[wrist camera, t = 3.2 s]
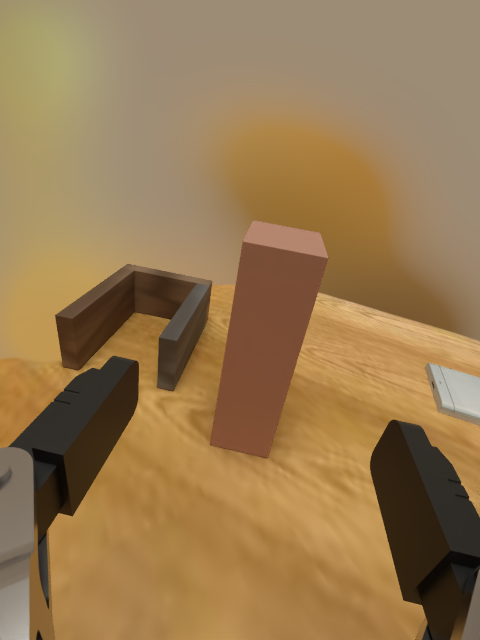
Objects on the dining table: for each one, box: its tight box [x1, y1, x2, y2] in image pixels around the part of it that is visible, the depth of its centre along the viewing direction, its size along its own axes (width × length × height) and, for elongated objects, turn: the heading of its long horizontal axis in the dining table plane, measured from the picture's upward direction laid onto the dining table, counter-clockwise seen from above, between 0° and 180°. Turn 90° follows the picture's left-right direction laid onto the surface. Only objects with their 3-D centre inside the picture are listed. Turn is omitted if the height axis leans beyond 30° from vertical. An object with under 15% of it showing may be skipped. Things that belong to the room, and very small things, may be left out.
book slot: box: [55, 264, 212, 391], centre depth 33 cm, size 10×14×6 cm
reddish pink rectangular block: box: [210, 221, 328, 458], centre depth 23 cm, size 4×6×16 cm
